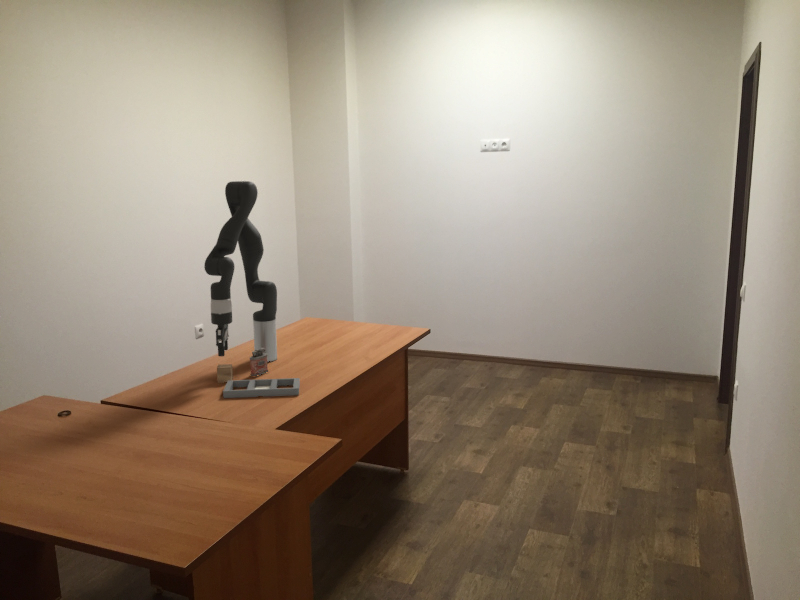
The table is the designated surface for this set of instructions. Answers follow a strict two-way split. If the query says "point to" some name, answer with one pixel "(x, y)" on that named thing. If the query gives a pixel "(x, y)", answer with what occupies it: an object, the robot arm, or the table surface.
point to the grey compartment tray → (261, 387)
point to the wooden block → (224, 373)
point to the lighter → (258, 362)
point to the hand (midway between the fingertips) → (223, 353)
